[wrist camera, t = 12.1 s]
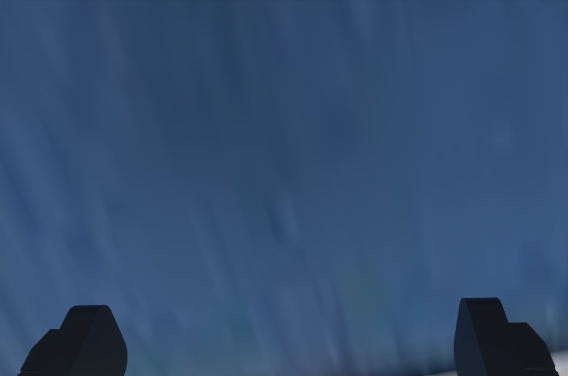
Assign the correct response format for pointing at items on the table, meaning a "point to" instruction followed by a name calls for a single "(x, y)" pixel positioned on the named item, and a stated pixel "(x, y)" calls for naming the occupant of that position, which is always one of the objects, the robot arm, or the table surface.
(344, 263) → the table surface
